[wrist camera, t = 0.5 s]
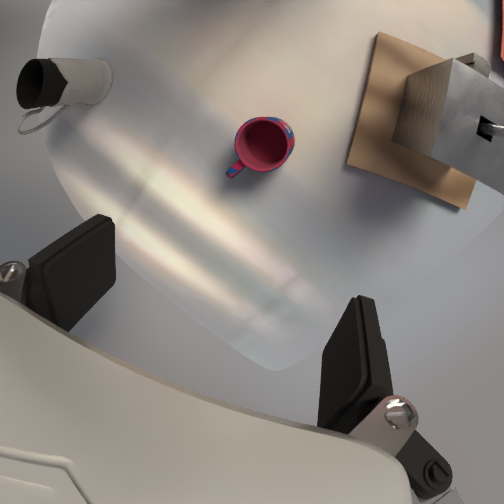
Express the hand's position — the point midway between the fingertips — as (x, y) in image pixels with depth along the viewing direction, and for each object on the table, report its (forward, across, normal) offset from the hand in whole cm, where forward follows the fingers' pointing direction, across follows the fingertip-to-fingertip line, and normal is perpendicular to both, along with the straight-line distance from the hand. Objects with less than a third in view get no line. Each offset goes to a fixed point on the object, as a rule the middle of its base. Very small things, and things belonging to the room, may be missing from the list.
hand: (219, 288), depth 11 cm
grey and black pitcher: (+33, +38, -4) cm, 51 cm away
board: (+33, -17, -11) cm, 39 cm away
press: (+32, -17, -13) cm, 38 cm away
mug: (+33, +5, 0) cm, 34 cm away
